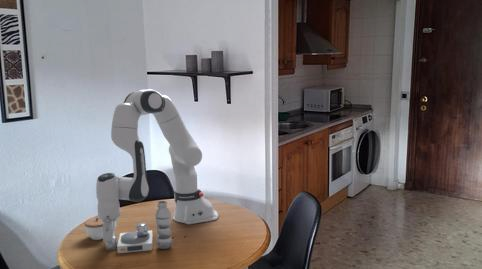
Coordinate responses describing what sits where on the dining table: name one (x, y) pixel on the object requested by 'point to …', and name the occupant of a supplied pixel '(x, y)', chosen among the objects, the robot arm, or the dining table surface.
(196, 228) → the dining table surface
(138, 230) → the silver ball
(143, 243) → the kitchen scale
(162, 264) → the dining table surface
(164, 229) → the plastic bottle
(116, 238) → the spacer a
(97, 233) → the lidded jar
